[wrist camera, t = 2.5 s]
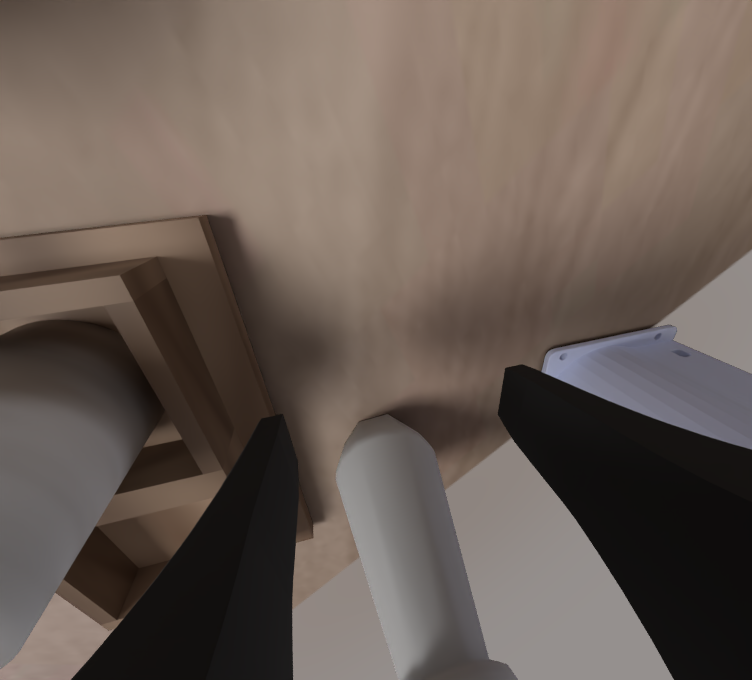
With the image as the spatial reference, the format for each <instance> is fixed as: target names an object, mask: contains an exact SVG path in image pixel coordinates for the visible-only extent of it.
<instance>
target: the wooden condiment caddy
mask: <svg viewBox="0 0 752 680" xmlns="http://www.w3.org/2000/svg"><path fill="white" fill-rule="evenodd" d="M271 416H275V412H274V409H273V407H272V404H271V401H270V398H269V395H268V392H267V389H266V386H265V383H264V380H263V378H262V375H261V372H260V369H259V366H258V363H257V360H256V357H255V354H254V352H253V349H252V346H251V343H250V340H249V337H248V334H247V331H246V328H245V325H244V323H243V320H242V317H241V314H240V311H239V308H238V305H237V302H236V299H235V297H234V294H233V291H232V288H231V285H230V282H229V279H228V276H227V273H226V270H225V268H224V265H223V262H222V259H221V256H220V253H219V250H218V247H217V244H216V242H215V239H214V236H213V233H212V230H211V227H210V224H209V221H208V218H207V215H202V216H193V217H184V218H175V219H166V220H157V221H148V222H139V223H130V224H121V225H112V226H103V227H94V228H86V229H77V230H68V231H59V232H50V233H41V234H32V235H23V236H14V237H5V238H0V669H1V668H3V667H4V666H5V665H6V664H8V663H9V662H10V661H11V660H12V659H13V658H14V657H15V656H16V655H17V654H18V653H19V651H20V650H21V648H22V646H23V645H24V643H25V641H26V640H27V638H28V636H29V635H30V633H31V631H32V630H33V628H34V627H35V625H36V623H37V622H38V620H39V618H40V617H41V615H42V613H43V612H44V610H45V608H46V607H47V605H48V603H49V602H50V600H51V598H52V597H53V595H54V593H56V594H58V595H59V596H61V597H62V598H63V599H65V600H66V601H68V602H69V603H71V604H72V605H73V606H75V607H76V608H78V609H79V610H80V611H82V612H83V613H85V614H86V615H87V616H89V617H90V618H92V619H93V620H94V621H96V622H97V623H99V624H100V625H101V626H103V627H104V628H106V629H107V630H108V631H109V630H112V629H115V628H116V627H117V626H118V625H119V623H120V622H121V621H122V620H123V619H124V617H125V616H126V615H127V614H128V612H129V611H130V610H131V609H132V607H133V606H134V605H135V604H136V603H137V601H138V600H139V599H140V598H141V596H142V595H143V594H144V593H145V591H146V590H147V589H148V588H149V587H150V585H151V584H152V583H153V581H154V580H155V579H156V578H157V576H158V575H159V574H160V572H161V571H162V570H163V568H164V567H165V566H166V565H167V563H168V562H169V561H170V559H171V558H172V557H173V555H174V554H175V553H176V551H177V550H178V549H179V547H180V546H181V544H182V543H183V542H184V540H185V539H186V538H187V536H188V535H189V533H190V532H191V531H192V529H193V528H194V526H195V525H196V523H197V522H198V520H199V519H200V517H201V516H202V514H203V513H204V511H205V510H206V508H207V507H208V505H209V504H210V503H211V501H212V500H213V498H214V497H215V495H216V494H217V492H218V490H219V489H220V487H221V486H222V484H223V482H224V481H225V479H226V478H227V476H228V474H229V473H230V471H231V469H232V468H233V466H234V464H235V463H236V461H237V459H238V458H239V456H240V454H241V453H242V451H243V449H244V447H245V446H246V444H247V442H248V440H249V439H250V437H251V435H252V433H253V431H254V430H255V428H256V426H257V424H258V422H259V421H260V420H261V418H266V417H271ZM312 538H313V522H312V519H311V517H310V514H309V511H308V508H307V505H306V502H305V499H304V496H303V493H302V490H301V488H300V485H299V503H298V518H297V532H296V543H297V542H301V541H304V540H308V539H312Z"/></svg>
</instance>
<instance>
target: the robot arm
mask: <svg viewBox="0 0 752 680" xmlns="http://www.w3.org/2000/svg"><path fill="white" fill-rule="evenodd" d="M676 332H677V328H676V327H675V326H672V325H665V326H660V327H655V328H650V329H645V330H641V331H636V332H631V333H626V334H621V335H617V336H612V337H607V338H602V339H598V340H593V341H588V342H583V343H578V344H574V345H569V346H564V347H559V348H554V349H552V350H550V351H548V352H547V354H546V356H545V359H544V364H543V368H542V372H541V371H538V370H536V369H533V368H531V367H528V366H525V365H517V366H512V367H507V368H505V373H504V379H503V385H502V392H501V398H500V404H499V410H498V416H499V417H500V419H501V421H502V422H503V424H504V426H505V427H506V429H507V431H508V432H509V434H510V435H511V437H512V439H513V440H514V442H515V443H516V444H517V446H518V447H519V448H520V449H521V451H522V452H523V453H524V454H525V456H526V457H527V458H528V459H529V461H530V462H531V463H532V465H533V466H534V467H535V468H536V469H537V471H538V472H539V473H540V475H541V476H542V477H543V478H544V479H545V481H546V482H547V483H548V484H549V486H550V487H551V488H552V489H553V491H554V492H555V493H556V494H557V496H558V497H559V498H560V499H561V501H562V502H563V503H564V504H565V506H566V507H567V508H568V510H569V511H570V512H571V514H572V515H573V516H574V518H575V519H576V520H577V522H578V524H579V525H580V526H581V528H582V529H583V531H584V532H585V534H586V535H587V537H588V538H589V540H590V541H591V543H592V544H593V546H594V547H595V549H596V550H597V552H598V553H599V555H600V556H601V558H602V560H603V561H604V563H605V564H606V566H607V567H608V569H609V570H610V572H611V574H612V575H613V577H614V578H615V580H616V581H617V583H618V585H619V586H620V588H621V589H622V591H623V592H624V594H625V596H626V598H627V599H628V601H629V603H630V604H631V606H632V608H633V609H634V611H635V613H636V614H637V616H638V618H639V619H640V621H641V623H642V624H643V626H644V628H645V629H646V631H647V633H648V634H649V636H650V638H651V639H652V641H653V643H654V645H655V646H656V648H657V650H658V652H659V654H660V655H661V657H662V659H663V661H664V663H665V664H666V666H667V668H668V670H669V672H670V673H671V675H672V677H673V679H674V680H752V374H750V373H748V372H746V371H743V370H741V369H739V368H736V367H734V366H732V365H729V364H727V363H725V362H722V361H720V360H718V359H715V358H713V357H710V356H708V355H706V354H704V353H701V352H699V351H697V350H694V349H692V348H690V347H687V346H685V345H683V344H680V343H678V342H676V341H673V339H674V337H675V334H676ZM298 503H299V479H298V460H297V457H296V454H295V451H294V448H293V445H292V441H291V438H290V435H289V432H288V429H287V426H286V423H285V419H284V416H283V414H280V415H275V416H271V417H266V418H261V420H260V421H259V422H258V424H257V426H256V428H255V430H254V431H253V433H252V435H251V437H250V439H249V440H248V442H247V444H246V446H245V447H244V449H243V451H242V453H241V454H240V456H239V458H238V459H237V461H236V463H235V464H234V466H233V468H232V469H231V471H230V473H229V474H228V476H227V478H226V479H225V481H224V482H223V484H222V486H221V487H220V489H219V490H218V492H217V494H216V495H215V497H214V498H213V500H212V501H211V503H210V504H209V505H208V507H207V508H206V510H205V511H204V513H203V514H202V516H201V517H200V519H199V520H198V522H197V523H196V525H195V526H194V528H193V529H192V531H191V532H190V533H189V535H188V536H187V538H186V539H185V540H184V542H183V543H182V544H181V546H180V547H179V549H178V550H177V551H176V553H175V554H174V555H173V557H172V558H171V559H170V561H169V562H168V563H167V565H166V566H165V567H164V568H163V570H162V571H161V572H160V574H159V575H158V576H157V578H156V579H155V580H154V581H153V583H152V584H151V585H150V587H149V588H148V589H147V590H146V591H145V593H144V594H143V595H142V596H141V598H140V599H139V600H138V601H137V603H136V604H135V605H134V606H133V607H132V609H131V610H130V611H129V612H128V614H127V615H126V616H125V617H124V619H123V620H122V621H121V622H120V623H119V625H118V626H117V627H116V628H115V629H114V631H113V632H112V633H111V634H110V635H109V637H108V638H107V639H106V640H105V641H104V643H103V644H102V645H101V646H100V647H99V648H98V650H97V651H96V652H95V653H94V654H93V655H92V657H91V658H90V659H89V660H88V661H87V662H86V663H85V665H84V666H83V667H82V668H81V669H80V670H79V671H78V672H77V673H76V675H75V676H74V677H73V678H72V679H71V680H293V652H292V593H293V574H294V560H295V546H296V532H297V518H298Z"/></svg>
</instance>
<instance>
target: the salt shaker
mask: <svg viewBox="0 0 752 680" xmlns="http://www.w3.org/2000/svg"><path fill="white" fill-rule="evenodd" d="M336 482H337V485H338V488H339V492H340V495H341V498H342V501H343V504H344V508H345V511H346V514H347V517H348V520H349V523H350V527H351V530H352V533H353V536H354V539H355V543H356V546H357V549H358V552H359V555H360V559H361V562H362V565H363V568H364V571H365V575H366V577H367V581H368V584H369V587H370V590H371V594H372V597H373V600H374V603H375V606H376V610H377V613H378V616H379V619H380V622H381V625H382V629H383V632H384V635H385V638H386V642H387V645H388V648H389V651H390V654H391V658H392V660H393V664H394V667H395V670H396V673H397V677H398V680H518V679H517V678H516V676H515V675H514V673H513V672H512V670H511V669H510V668H509V666H508V665H507V664H504V663H501V662H498V661H493V660H490V659H489V657H488V653H487V650H486V646H485V642H484V638H483V634H482V631H481V627H480V623H479V619H478V615H477V611H476V608H475V604H474V600H473V597H472V592H471V589H470V585H469V581H468V577H467V573H466V570H465V566H464V562H463V558H462V554H461V551H460V547H459V543H458V539H457V535H456V531H455V528H454V524H453V520H452V516H451V513H450V509H449V505H448V501H447V497H446V493H445V490H444V486H443V482H442V478H441V474H440V470H439V467H438V463H437V459H436V455H435V451H434V450H433V448H432V447H431V445H430V444H429V443H428V442H427V441H426V440H425V439H424V438H423V437H422V436H421V435H420V434H419V433H418V432H417V431H415V430H413V429H412V428H410V427H408V426H407V425H405V424H404V423H402V422H400V421H398V420H397V419H395V418H393V417H392V416H390V415H388V414H386V415H382V416H379V417H375V418H371V419H368V420H364V421H360V422H358V424H357V425H356V427H355V428H354V430H353V432H352V433H351V435H350V436H349V438H348V439H347V441H346V442H345V445H344V448H343V451H342V454H341V457H340V460H339V464H338V467H337V470H336Z"/></svg>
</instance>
